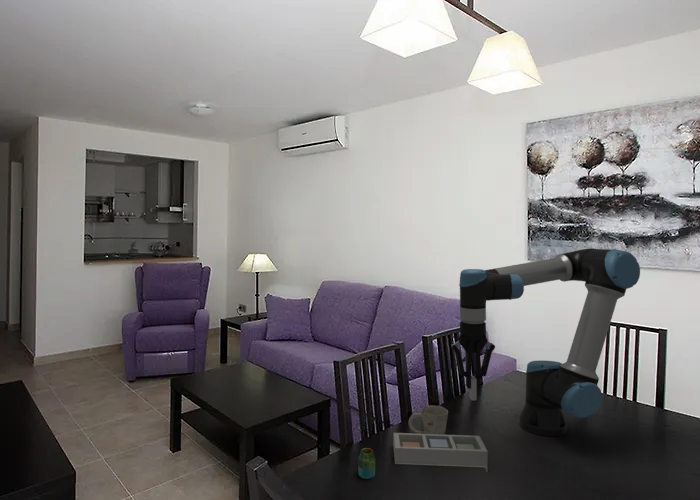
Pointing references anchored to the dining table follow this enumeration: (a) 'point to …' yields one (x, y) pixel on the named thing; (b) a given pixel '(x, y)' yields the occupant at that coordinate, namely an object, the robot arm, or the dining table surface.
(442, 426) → the mug
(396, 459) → the three-slot tray
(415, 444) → the key
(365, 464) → the jar
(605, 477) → the dining table surface
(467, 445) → the key
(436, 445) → the key
